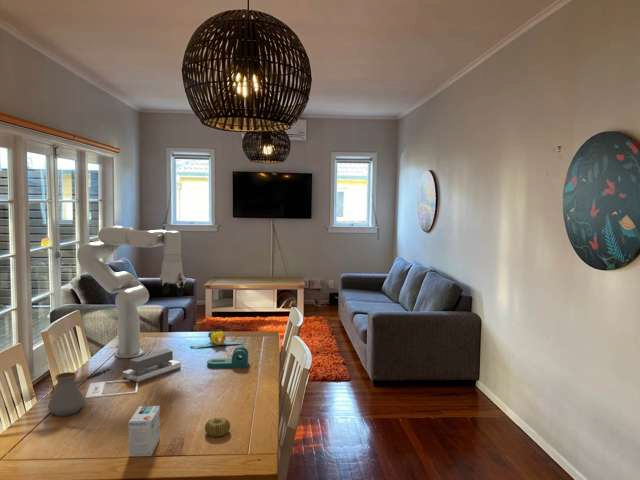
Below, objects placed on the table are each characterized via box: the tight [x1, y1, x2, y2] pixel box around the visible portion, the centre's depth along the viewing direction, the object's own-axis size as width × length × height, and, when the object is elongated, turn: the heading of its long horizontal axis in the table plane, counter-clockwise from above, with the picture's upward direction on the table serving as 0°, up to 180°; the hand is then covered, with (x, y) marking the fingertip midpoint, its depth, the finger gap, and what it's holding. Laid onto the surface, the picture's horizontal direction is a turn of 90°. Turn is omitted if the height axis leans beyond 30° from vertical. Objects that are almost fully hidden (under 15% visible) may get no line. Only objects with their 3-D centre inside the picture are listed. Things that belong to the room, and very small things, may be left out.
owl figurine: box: [189, 328, 246, 350], centre depth 251 cm, size 28×9×15 cm
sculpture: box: [204, 417, 231, 437], centre depth 157 cm, size 8×4×8 cm
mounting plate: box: [121, 359, 182, 385], centre depth 209 cm, size 10×22×3 cm, turn 146°
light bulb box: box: [127, 405, 161, 457], centre depth 147 cm, size 11×7×11 cm, turn 5°
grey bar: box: [129, 348, 174, 374], centre depth 208 cm, size 4×18×7 cm, turn 146°
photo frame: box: [84, 379, 139, 399], centre depth 192 cm, size 15×1×18 cm
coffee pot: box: [47, 368, 113, 417], centre depth 171 cm, size 21×12×15 cm, turn 96°
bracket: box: [206, 345, 249, 369], centre depth 220 cm, size 18×7×8 cm, turn 95°
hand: (172, 294), depth 226 cm, fingers open, 9 cm apart
